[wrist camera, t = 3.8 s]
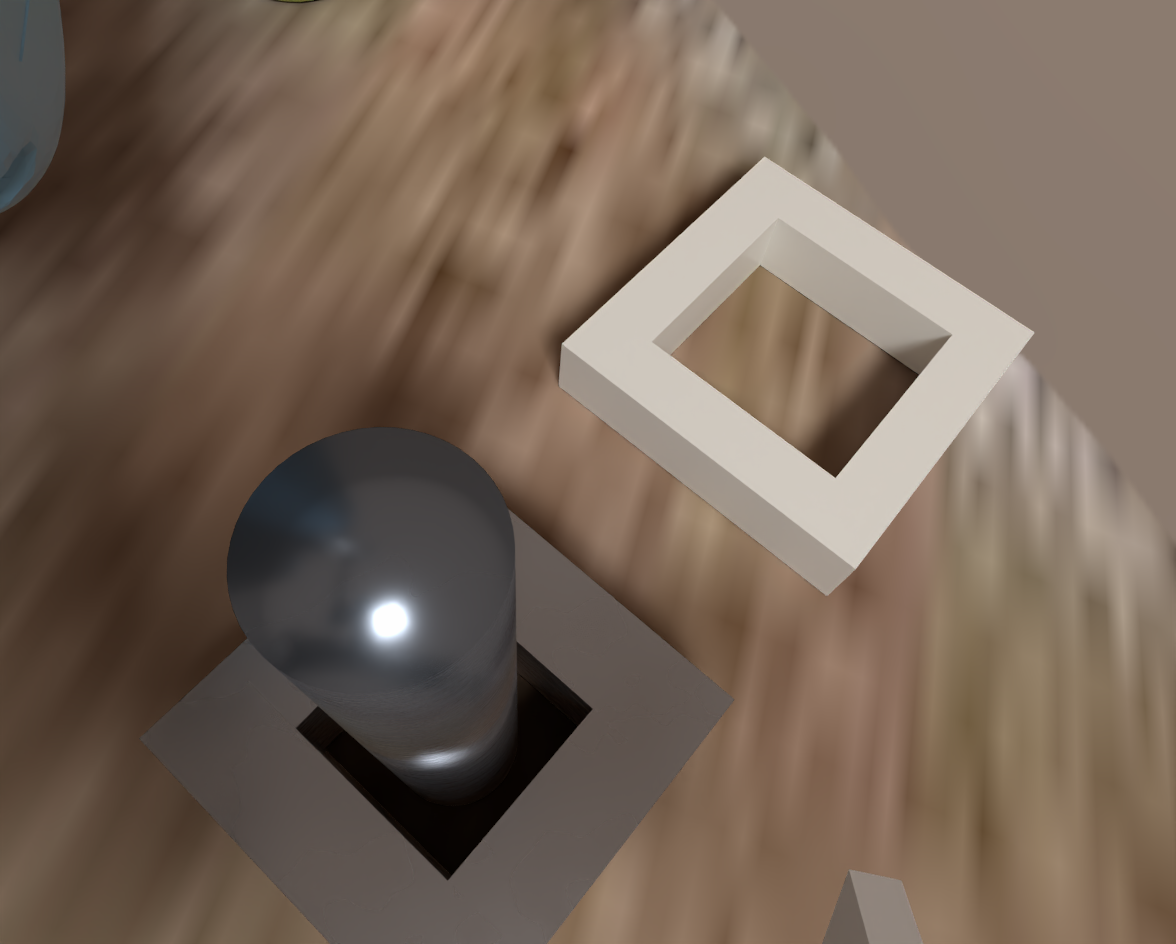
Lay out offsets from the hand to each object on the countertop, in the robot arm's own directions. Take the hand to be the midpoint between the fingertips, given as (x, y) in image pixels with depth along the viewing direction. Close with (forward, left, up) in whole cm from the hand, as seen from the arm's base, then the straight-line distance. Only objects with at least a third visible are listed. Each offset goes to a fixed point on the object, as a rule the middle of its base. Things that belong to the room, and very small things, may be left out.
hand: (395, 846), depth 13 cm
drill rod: (-2, +2, -11) cm, 11 cm away
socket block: (-2, +2, -11) cm, 11 cm away
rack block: (-2, +18, -11) cm, 21 cm away
